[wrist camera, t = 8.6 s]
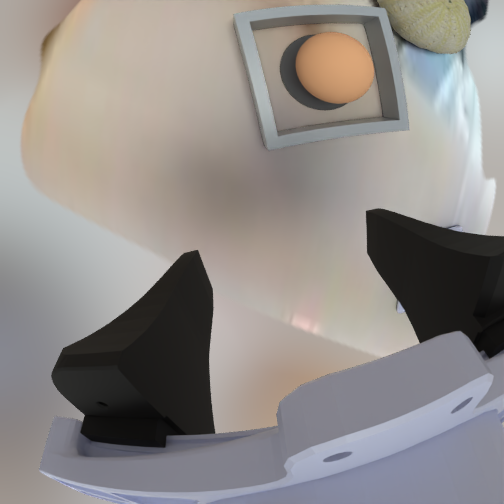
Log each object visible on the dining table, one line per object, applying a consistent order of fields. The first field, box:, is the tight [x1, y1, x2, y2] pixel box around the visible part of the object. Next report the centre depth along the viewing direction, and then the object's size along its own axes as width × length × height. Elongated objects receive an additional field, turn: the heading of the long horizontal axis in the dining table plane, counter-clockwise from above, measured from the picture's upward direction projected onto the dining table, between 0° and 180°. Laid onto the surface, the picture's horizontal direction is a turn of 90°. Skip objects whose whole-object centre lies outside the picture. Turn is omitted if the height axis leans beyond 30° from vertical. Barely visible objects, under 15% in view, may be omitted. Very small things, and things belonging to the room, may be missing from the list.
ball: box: [296, 32, 374, 104], centre depth 14 cm, size 5×5×5 cm
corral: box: [233, 5, 409, 151], centre depth 15 cm, size 10×11×2 cm
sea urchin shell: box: [377, 0, 471, 54], centre depth 11 cm, size 9×8×8 cm
